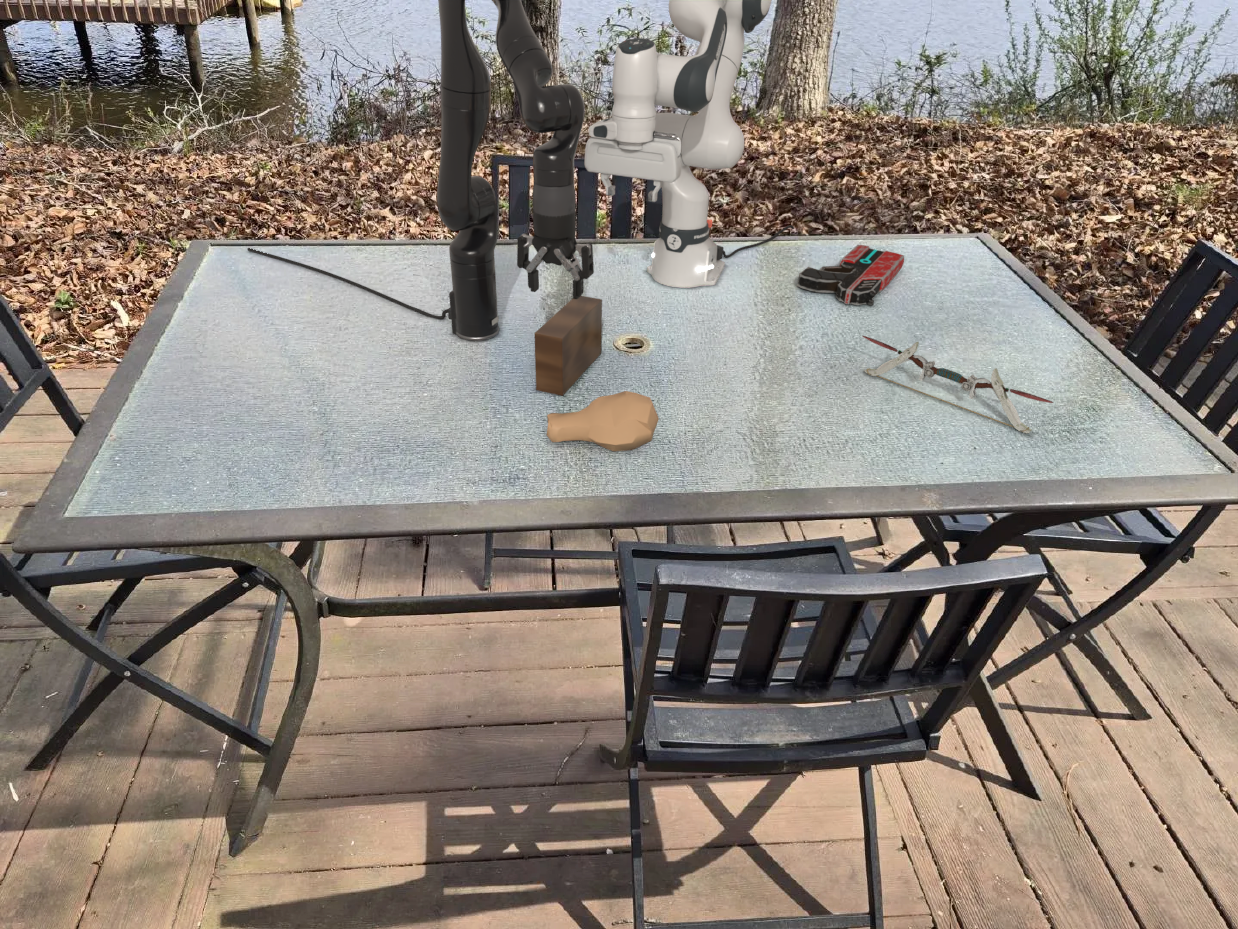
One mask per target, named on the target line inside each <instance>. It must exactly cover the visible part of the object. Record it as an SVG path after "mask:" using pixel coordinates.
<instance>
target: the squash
mask: <svg viewBox="0 0 1238 929" xmlns="http://www.w3.org/2000/svg"><path fill="white" fill-rule="evenodd" d="M546 416H547V417H546V419H547V429H546V434H545V435H546V436H547V438H548V439H549V441H550V442H551V443H561V442H568V441H584V442H588V443H589V442H590V443H594V444H596V445H598V446H599V447H601V448H604V449H607V450H609V451H611V452H627V451H633V450H636V449H638V448H640V447H642V446H644V445H647V444H648V443H650V442H652V441H653V438H654V437H653V436H654V435H655V434H654V433H655V432H656V428H657V426H658V422H659V420H660V418H659V416H658V413H657V410H656V408H655V405H654V402H653V401H652V399H651V397H649V396H646V395H643V394H641V393H637V392H635V391H629V390H624V391H621V392H618V393H614V394H609V395H608V394H607V395H603V396H602V395H601V396H598V397H597V398H595V399H594V400H592V401H591V402H590V403H589V404H588V406H586V407H584V408H582V409H581V410H579V411H573V412H564V413H560V412H551V413H548V414H547V415H546Z"/></svg>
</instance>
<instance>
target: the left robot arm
mask: <svg viewBox="0 0 1238 929" xmlns="http://www.w3.org/2000/svg"><path fill="white" fill-rule="evenodd" d="M491 1H492V3H493V4H494V6H495V7H496V9H497V12H498V15H497V16H498V17H497V23H496V29H495V46H496V49H497V53H498V55H499V58H500V60H501V61H502V63H503V65H504V67H505V69H506V71H507V73H508V75H509V77H510V78H511V80H512V82H513V85H514V90H515V93H516V97H517V101H518V107H519V112H520V117H521V120H522V122H523V123H524V125H525V126H526V127H527V128H528V129H529V130H530V131H532V132H534V133H536V134H545V133H552V132H553V134H552V137H551V138H550V139H549V140H548V141H547V142H545V143H543V144H540V145H538V146H537V147H536V148H535V149H534V151H533V153H532V165H533V166H532V170H533V171H532V172H533V174H532V175H533V184H532V185H533V186H532V201H531V205H532V223H533V224H532V225H533V229H532V230H533V236H532V235H530V234H529V233H528V232H524V233H522V234H521V235H519V236H518V237H517V243H516V244H517V247H516V248H517V249H516V250H517V251H516V252H517V253H516V266H517V267H518V268H519V269H524V270H525V271H526V273H527V287H528V289H530V292H532V293H536V292H537V291H538V290H539V289H540V273H539V272H540V271H539V269H538V267H539V266H540V265H541V263H542V262H544V263H545V264H548V265H550V264H551V265H552V264H553V265H556V266H563V267H564V269H565V271H567V272H568V273H569V274H570V276H571V277H572V278H573V279H572V299H578V298H579V297H580V296H583V294H584V291H585V290H584V283H585V281H584V280H588V279H589V278H590V277H591V276H592V275H594V273H595V269H594V267H595V266H594V250H593V247H594V246H593V243H591V242H586V244H584V243H578V242H577V239H576V235H577V234H576V232H577V230H576V229H577V226H576V224H577V219H576V218H577V217H576V216H577V215H576V214H577V211H576V210H577V209H576V207H577V206H576V205H577V204H576V202H577V201H576V200H577V197H576V188H575V156H576V152H577V148H578V144H579V139H580V135H581V132H582V129H583V124H584V119H585V113H586V112H585V101H584V98H583V95H582V93H581V91H580V90H579V89H578V88H577V87H576V86H575V85H573V84H569V83H562V84H553V85H547V84H548V83H549V81H550V80H551V79H552V77H553V71H554V70H553V65H552V62H551V60H550V58H549V56H548V55H547V52H546V50H545V49H544V47H543V45H542V44H541V42H540V39H539V38H538V37H537V35H536V33H535V31H534V29H533V28H532V26H531V24H530V21H529V19H528V16H527V13H526V11H525V9H524V4H523V2H522V0H491ZM438 14H439V15H438V16H439V26H440V29H439V30H440V117H441V118H440V156H439V158H440V159H439V166H438V167H439V169H438V179H437V187H436V188H437V190H436V206H437V211H438V215H439V218H440V220H441V221H442V224H444V226H445V227H446V228H448V229H449V230H451V231H455V232H458V233H457V234H456V236H455V237H454V238H453V240H452V241H451V242H450V244H449V246H448V250H449V263H450V264H449V265H450V275H451V276H450V277H451V286H452V290H451V291H450V292H448V297H449V308H446V309H444V310H443V311H442V313H441V315H435V314H432V313H429V312H427V311H424V310H422V309H420V308H417V307H415V306H412V305H409V304H407V303H405V302H402V301H400V300H398V299H396V298H394V297H392V296H389V295H386V294H384V293H382V292H380V291H377V290H374V289H372V288H370V287H367V286H365V285H363V284H361V283H358V282H356V281H353V280H351V279H349V278H346V277H342V276H340V275H337V274H335V273H331V272H329V271H326V270H323V269H320V268H317V267H314V266H311V265H308V264H306V263H302V262H299V261H295V260H292V259H288V258H285V257H282V256H279V255H275V254H271V253H268V252H265V253H263V252H264V251H261V250H258V251H256V250H257V249H255V248H251V247H247V251H248V252H250V253H253V254H257V255H260V256H264V257H267V258H271V259H274V260H278V261H280V262H285V263H287V264H291V265H295V266H298V267H301V268H305V269H307V270H310V271H314V272H316V273H319V274H322V275H325V276H327V277H330V278H333V279H335V280H336V279H337V281H341V282H344V283H347V284H349V285H352V286H353V287H356V288H359V289H362V290H363V291H366V292H369V293H371V294H374V295H376V296H378V297H381V298H382V299H384V300H387V301H389V302H392V303H394V304H395V305H396V304H397V305H399V306H400V307H403V308H406V309H408V310H410V311H412V312H415V313H418V314H420V315H423V316H425V317H427V318H431V319H435V320H439V321H440V320H445V318H446V315H447V314H448V315H447V316H448V320H451V321H450V322H451V332H452V334H453V335H456V336H457V337H458V338H460V339H462V340H464V341H470V342H479V341H481V342H482V341H486V340H487V341H488V340H491V339H493V338H494V337H495V338H496V337H497V335H499V333H500V327H499V321H500V320H499V312H498V311H499V310H498V296H497V295H498V294H497V293H498V292H497V276H496V275H497V274H496V261H495V259H496V258H495V248H496V246H497V243H498V201H497V196H496V194H495V190H494V188H493V186H492V185H491V183H490V182H489V181H488V180H487V179H486V178H484V177H482V176H480V175H472V172H473V163H474V159H475V156H476V153H477V150H478V148H479V146H480V143H481V141H482V139H483V138H482V137H483V136H484V133H485V131H486V128H487V125H488V123H489V120H490V115H491V100H492V98H491V96H492V82H491V79H492V78H491V74H490V71H489V69H488V67H487V65H486V62H485V60H484V58H483V57H482V55H481V53H480V51H479V49H478V48H477V45H476V44H475V42H474V40H473V37H472V36H471V35H472V34H471V33H470V30H469V26H468V23H467V22H468V21H467V13H466V0H438ZM531 246H533V248H534V249H535V251H536V252H537V253H536V254H535V255H534V256H533V258H532V259H531V260H530V248H531ZM250 248H251V249H250ZM253 249H254V250H253ZM260 251H261V252H260ZM576 252H577V253H578V256H579V257H581V265H580V261H579V259H578V258H577V256H576V254H575V253H576ZM267 253H268V254H267Z"/></svg>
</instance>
